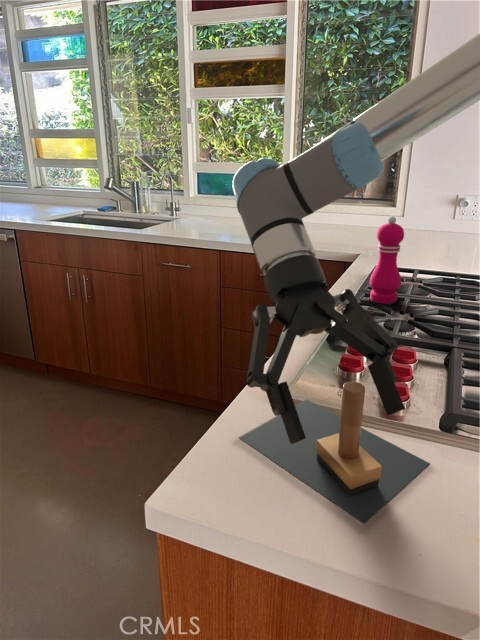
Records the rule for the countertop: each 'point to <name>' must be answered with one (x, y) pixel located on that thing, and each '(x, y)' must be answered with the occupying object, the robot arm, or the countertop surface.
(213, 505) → the countertop surface
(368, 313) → the nutmeg
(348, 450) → the scrub brush
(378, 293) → the pepper mill
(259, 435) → the mat
